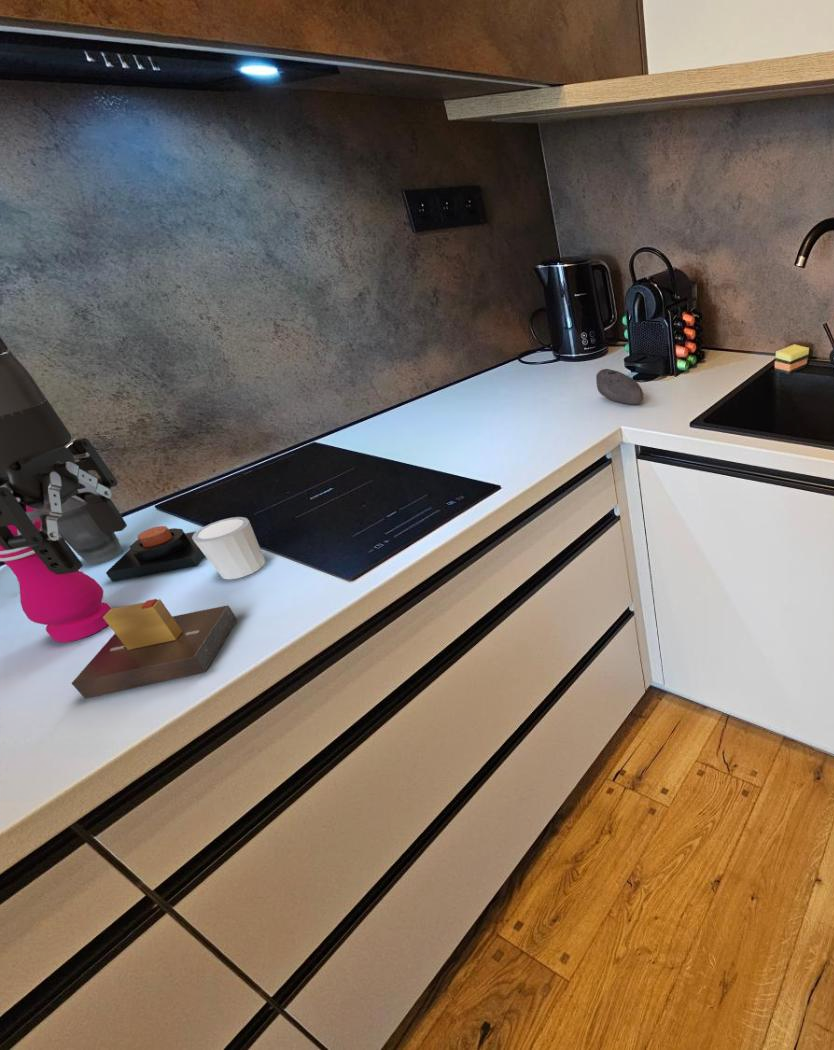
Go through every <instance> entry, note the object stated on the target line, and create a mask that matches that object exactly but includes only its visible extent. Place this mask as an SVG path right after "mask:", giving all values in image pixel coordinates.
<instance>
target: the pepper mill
mask: <svg viewBox="0 0 834 1050" xmlns="http://www.w3.org/2000/svg"><path fill="white" fill-rule="evenodd" d="M26 511H27V512H30V511H36V510H35V509H33V508H31V507H28V506H26ZM34 526H35V527H36V528H37V530H38V531H41V529H42V527H41V521H36V522H35V523H34ZM8 528H9V529H10V531H11V532H12V533H13V535H14V536H16V535H18V532H17V528H16V527H15V526H13V525H10V526H8ZM0 562H3V563H4V564H6V566H7V567H8V568H9V569H10V570H11V571H12V573H13V574H14V576H15V577H16V579H17V581H18V586H19V599H20V600H19V601H20V606H21V609H22V611H23V613H24V614H25V616H26V617H27V619H28V620H29V621H31V622H32V623H35V624H40V625H45V626H46V627H45V632H46V633H47V634H48V635H49V637H51V639H52V640H53V641H54V642H56V643H70V642H71V643H72V642H75V641H78V640H81V639H84V638H87V637H89V636H92V635H93V634H96V633H98V632H100V631H101V630H103V629H105V628H106V627H107V626H109V625H108V623H107V622H106V621H105V619H104V618H103V617H104V615H105V614H106V613H107V612H108V611H109V610H110V609H112V607H111V606H110V605H109V603H107V602H104V601H102V600H103V598H104V593H105V591H104V588H103V587H102V586H101V585H100V584H99V583H98V581H97V580H95V579H94V578H93V577H91V576H90V575H88V574H86V573H84V572H82V571H80V570H78V571H77V572H73V573H67V574H62V575H57V574H55V573H53V572H51V571H50V570H49V569H48V568H47V567H46V566H45V564H44V563H43V561H41V559H40V558H39V557H38V556H37V554H36V553H35V552H34V550H33V549H31V548H30V547H23V548H17V549H12V550H5V549H4V548H3V547H2V546H1V545H0Z"/></svg>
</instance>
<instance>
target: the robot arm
mask: <svg viewBox="0 0 834 1050" xmlns="http://www.w3.org/2000/svg"><path fill="white" fill-rule="evenodd" d="M37 383H38V382H37V381H36V380H35V379H34V377H33V376H32V375H31V373H30V372H29V370H28V369H27V368H26V367H25V366H24V365H23V364H22V363H21V362H20V361H19V359H18V358H17V357H16V356H15V355H14V353H13V352H12V350H11V349H9V346H8V345H7V343H6V342H5V340H4V338H3V337H2V336H1V335H0V545H1V546H2V547H3V548H4V549H5V550H12V549H17V548H23V547H30V548H31V549H33V550H34V552H35V553H36V554H37V556H38V557H39V558H40V559H41V561H43V563H44V564H45V566H46V567H47V568H48V569H49V570H50V571H51V572H53V573H55V574H57V575H62V574H67V573H73V572H77V571H80V569H82V568H83V567H84V565H83V563H82V561H81V560H80V559H79V557H78V556H77V555H76V552H75V551H74V550H73V548H72V547H71V546H70V545H69V544H68V543H67V542H66V541H65V540H64V539H63V537H61V536H60V534H59V532H58V524H57V519H58V518H60V517H61V516H62V508H61V505H62V504H63V503H65V502H66V500H67V499H68V497H73V498H75V499H77V500H79V501H81V502H87V503H86V504H85V505H83V506H84V508H85V509H86V510H87V512H88V513H89V515H90V516H91V518H92V519H93V520H94V522H95V523H96V525H97V526H98V528H99V529H100V530H101V531H102V532H103V533H112V532H114V533H116V532H117V533H118V532H122V531H123V530H125V528H126V527H128V526H127V525H128V524H127V523H126V521H125V519H124V517H123V515H122V514H121V513H120V511H119V510H118V508H117V507H116V505H115V503H114V502H113V501H112V497H113V492H112V490H111V489H112V487H113V488H114V487H117V486H118V480H117V478H116V477H115V475H114V474H113V473H112V471H111V470H110V468H109V467H108V465H107V464H106V462H105V461H104V460H103V459H102V457H101V456H100V454H99V453H98V451H97V450H96V449H95V447H94V446H93V444H92V443H91V441H90V440H89V439H88V438H86V437H80V438H74V439H72V434H71V433H70V431H69V430H68V428H67V427H66V425H65V424H64V422H63V421H62V419H61V418H60V417H59V414H58V413H57V412H56V410H55V409H54V408H53V406H52V404H51V403H50V402H49V400H48V398H47V397H46V396H45V394H44V392H43V391H42V389H41V388H40V386H39V385H38V384H37ZM90 471H94V472H96V473H97V475H98V476H99V477H95V476H94V475H93V474H91V473H90ZM26 506H28V507H31V508H35V509H41V510H36V511H30V512H27V511H26ZM36 521H41V530H40V531H38V530H37V528H36V527H35V526H34V523H35V522H36ZM10 525H13V526H15V527H16V528H17V532H18V535H16V536H14V535H13V533H12V532H11V531H10V529H9V528H8V526H10Z"/></svg>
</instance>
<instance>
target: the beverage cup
mask: <svg viewBox="0 0 834 1050" xmlns="http://www.w3.org/2000/svg"><path fill="white" fill-rule="evenodd" d="M86 503H87V502H81V501H79V500H77V499H75V498H73V497H68V499H67V500H66V502H65V503H63V504H62V505H61V508H62V516H61V517H60V518H58V519H57V524H58V532H59V536H60V537H63V539H64V540H65V541H66V543H67V544H68V545H69V547H70V548H71V549H72V551H73V552H74V553H75V554H77V555H78V556H79V557H81V559H82V560H84V562H85V563H86V564H88V565H97V564H102V563H106V562H108V561H110V560H113V559H115V558H117V557H118V556H120V555H121V554H122V553H123V552H124V549H123V547H122V545H121V543H120V540H119V538H118V536H117V535H116V532H112V533H103V532H102V531H101V530H100V529H99V528H98V526H97V525H96V523H95V522H94V520H93V519H92V518H91V516H90V515H89V513H88V512H87V510H86V509H85V508H84V506H83V505H85V504H86ZM33 509H35V508H33ZM35 510H41V509H35Z"/></svg>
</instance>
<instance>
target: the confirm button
mask: <svg viewBox="0 0 834 1050" xmlns="http://www.w3.org/2000/svg"><path fill="white" fill-rule="evenodd" d="M168 529H169V528H168V527H167V526H166V525H158V526H154V527H150V528H148V529H145V530H143V531H141V532H140V533H139V534H138V535H137V540H138V539H139V540H140V542H141V543H142V545H143V546H144V547H150V546H155V545H158V544H161V543H164V542H166V541H167V540H169V539H171V538H172V537H173V536H172V534H171V533H170V531H169V530H168Z"/></svg>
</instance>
